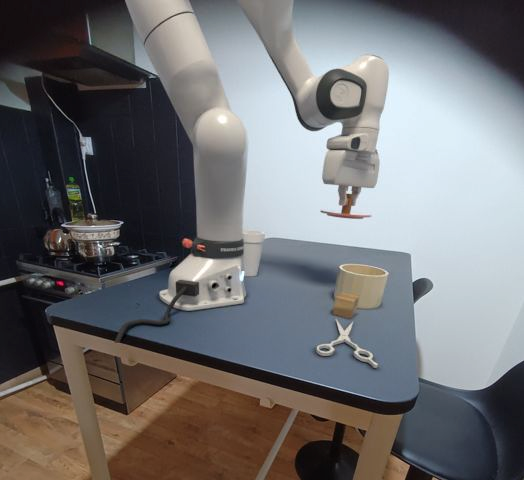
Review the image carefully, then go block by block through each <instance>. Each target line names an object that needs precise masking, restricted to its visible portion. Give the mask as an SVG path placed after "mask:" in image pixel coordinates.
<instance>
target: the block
mask: <svg viewBox="0 0 524 480" xmlns="http://www.w3.org/2000/svg"><path fill="white" fill-rule="evenodd" d="M358 300H359V297H358V296H354V295H350V294H345V293H341V294H339V295H338V296H336V298H335V299H334V304H333V308H332V309H333V310H332V315H335V316H338V317H341V318H344V319H349V320H350V319H351V318H352V317H354V316H355V315H356V314H357V309H358V308H357V305H358Z"/></svg>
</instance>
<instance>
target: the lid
mask: <svg viewBox="0 0 524 480" xmlns="http://www.w3.org/2000/svg"><path fill="white" fill-rule="evenodd" d="M353 196H354V194H351V193H347V199H348V202H347V203H348V204H347V206H341V209H328V208H327V209H320V213H322V214H325V215H326V216H329V217H334V218H340V219H349V220H350V219H352V220H363V219H364V218H371V217H372V216H373V215H372V213H367V212H361V211H354V210H353V211H352V207H353V206H352V201H353Z"/></svg>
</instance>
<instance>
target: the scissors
mask: <svg viewBox="0 0 524 480" xmlns="http://www.w3.org/2000/svg"><path fill="white" fill-rule="evenodd" d="M335 321H336V326H337V329H338V333H339V336H338V338H337V339H336V340H331V342H330V343H322V344H319V345H317V346H316V351H315V352H316V353H317V354H318V355H319V356H322V357H330V356H332V355H333V354H334V353H335V348H334V347H333V346H336V345H338V344H342V343H343V344H344V343H345V344H347V345H349V346H350V347H351V348H353V349H354V351H353V357H354V358H355V359H357V360H359V361H360V362H364V363H368V364H369V365H371V367H372V369H377V368H378V365H379V364H378V363H377V362H375V361H374V360H373V357H374V355H373V353H372V352H371V351H369V350H366V349H363V348H361V347H359V345H358V344H356V343H354V342H352V341H351V338H350V336H349V335H350V332H351V331H352V327H353V325H354V321H352V322H351V323H350V324H349V325H348V326H347V327H346V329H345V330H344V328H343V327H342V325H341V323H340V322H339V321H338V319H337V318H335ZM321 349H327V350H328V351H323V350H321ZM360 354H362V355H365V356H367V357H365V356H362V355H360Z"/></svg>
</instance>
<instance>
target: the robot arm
mask: <svg viewBox="0 0 524 480" xmlns="http://www.w3.org/2000/svg"><path fill="white" fill-rule="evenodd" d="M124 1H125V2H124V3H125V5H126V7H127V10H128V13H129V15H130V18H131V20H132V23H133V25H134V28H135V31H136V32H137V34H138V38H139V39H140V41H141V43H142V46H143V47H144V50H145V52H146V54H147V56H148V58H149V60H150V63H151V64H152V66H153V68H154V70H155V72H156V74H157V77H158V79H159V80H160V82H161V85H162V87H163V89H164V91H165V92H166V94H167V97H168V99H169V100H170V103H171V105H172V107H173V109H174V111H175V113H176V114H177V117H178V119H179V121H180V123H181V125H182V126H183V127H182V128H183V129H184V131H185V133H186V135H187V137H188V139H189V141H190V143H191V145H192V151H193V152H192V153H193V173H194V189H195V190H194V191H195V213H196V217H195V218H196V236H195V238H194V240H193V241H192V239H189V238H184V239H183V240H182V241H181V243H182V246H183V247H184V248H187V249H190V253H189V255H187V256H186V257H185V258H184V259H183V260H182V261H181V262H180V263H178V265H176V267H174V268H173V269H172V270H171V271H170V273H169V276H168V283H167V289H163V290H160V291H159V294H158V297H159V299H160V300H161V301H162V302H163V303H164V304H166V305H168V306H167V308H166V310H165V313H164V315H163V320H153V319H147V318H140V319H134V320H130V321H127V322H125V323H124V324H123V325H121V327H120V329H119V331H118V333H117V335H116V337H115V340H114V343H115V344H119V343H120V342H122V339H123V338H124V335H125V332H126V331H127V329H128V328H130V327H134V326H137V325H150V326H165V325H168V324H169V323H170V322H171V319H170V317H169V316H170V314H171V312H172V310H173V308H174V309H178V310H181V311H187V312H190V311H198V310H205V309H213V308H220V307H227V306H234V305H242V304H245V298H246V296H247V291H246V286H245V281H244V277H245V276H244V271H243V270H242V256H243V254H244V240H243V239H242V233H243V230H244V206H245V205H244V204H245V193H246V184H247V169H248V157H249V155H248V154H249V135H248V131H247V129H246V126H245V124H244V122H243V121H242V119H241V118H240V117H239V116H238V114H236V113H235V112H234V111H232V108H231V105H230V102H229V100H228V97H227V94H226V91H225V88H224V86H223V82H222V80H221V77H220V74H219V71H218V67H217V65H216V62H215V60H214V58H213V55H212V53H211V50H210V47H209V46H208V42H207V40H206V38H205V35H204V32H203V30H202V28H201V26H200V23H199V21H198V18H197V16H196V14H195V12H194V9H193V7H192V4H191V2H190V0H124ZM294 1H295V0H235V2H236V3H237V5H238V6H239V8H240V10H241V11H242V13H243V14H244V15H245V16H246V19H247V20H248V22H249V23H250V25H251V26H252V28H253V30H254V32H255V33H256V34H257V37H258V39H259V40H260V41H261V43H262V45H263V47H264V49H265V51H266V52H267V55H268V56H269V58H270V60H271V62H272V64H273V65H274V68H275V69H276V70H277V73H278V74H279V76H280V77H281V79H282V81H283V83H284V85H285V87H286V88H287V90H288V92H289V94H290V96H291V99H292V102H293V107H294V111H295V115H296V119H297V120H298V122H299V124H300V125H301V126H302V127H303V128H304V129H305V130H307V131H309V132H319V131H321V130H323V129H325V128H327V127H328V126H331V125H334V124H337V123H339V124H341V126H342V127H341V134H338V135H335V136H332V137H329V138H328V139H327V140H326V149H327V152H326V153H325V156H324V161H323V166H322V173H321V178H322V182H323V184H324V185H332V186H338V189H337V193H338V197H339V200H338V206H341V207H342V206H347V204H348V203H347V202H348V199H347V194H348V191H349V187H351V189H350V192H351V193H350V194H354V196H353V201H352V206H351V207H355V206H356V203H357V199H358V198H359V196H360V193H361V192H362V188H366V189H374V188H376V185H377V183H378V178H379V173H380V172H379V171H380V165H381V164H380V163H381V162H380V161H381V160H380V158H379V157H380V156H379V155H380V154H379V152H378V149H377V143H378V140H379V139H378V138H379V134H380V129H381V128H380V127H381V126H380V121H381V116H382V114H383V111H384V109H385V105H386V100H387V94H388V87H389V78H390V76H389V75H390V73H389V72H390V71H389V66H388V65H389V64H388V62H387V61H386V60H384V59H383V58H382V57H380V56H378V55H374V54H363V55H360V56H358V57H357V58H356V59H354V61H352V62H350V63H349V64H347V65H344V66H341V67H337V68H332V69H330V70H327V71H326V72H324V73H323V74H321V75H320V76H318V77H317V76H316V75H315V74H313V72H312V69H311V68H310V66H309V64H308V62H307V60H306V58H305V56H304V54H303V52H302V50H301V48H300V46H299V44H298V42H297V40H296V37H295V33H294V26H293V11H294V10H293V9H294Z"/></svg>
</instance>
